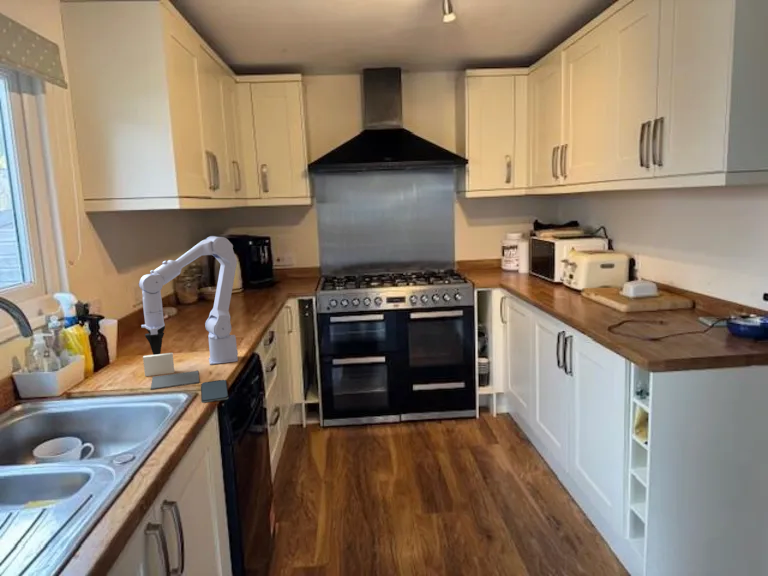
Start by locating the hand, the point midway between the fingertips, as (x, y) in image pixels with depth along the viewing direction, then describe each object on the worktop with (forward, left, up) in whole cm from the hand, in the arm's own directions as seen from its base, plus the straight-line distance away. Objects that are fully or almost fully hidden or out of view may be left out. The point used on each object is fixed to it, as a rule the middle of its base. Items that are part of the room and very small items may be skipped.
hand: (157, 351), depth 177 cm
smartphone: (-16, +27, -8) cm, 33 cm away
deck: (0, 0, -8) cm, 8 cm away
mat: (-5, +10, -8) cm, 14 cm away
